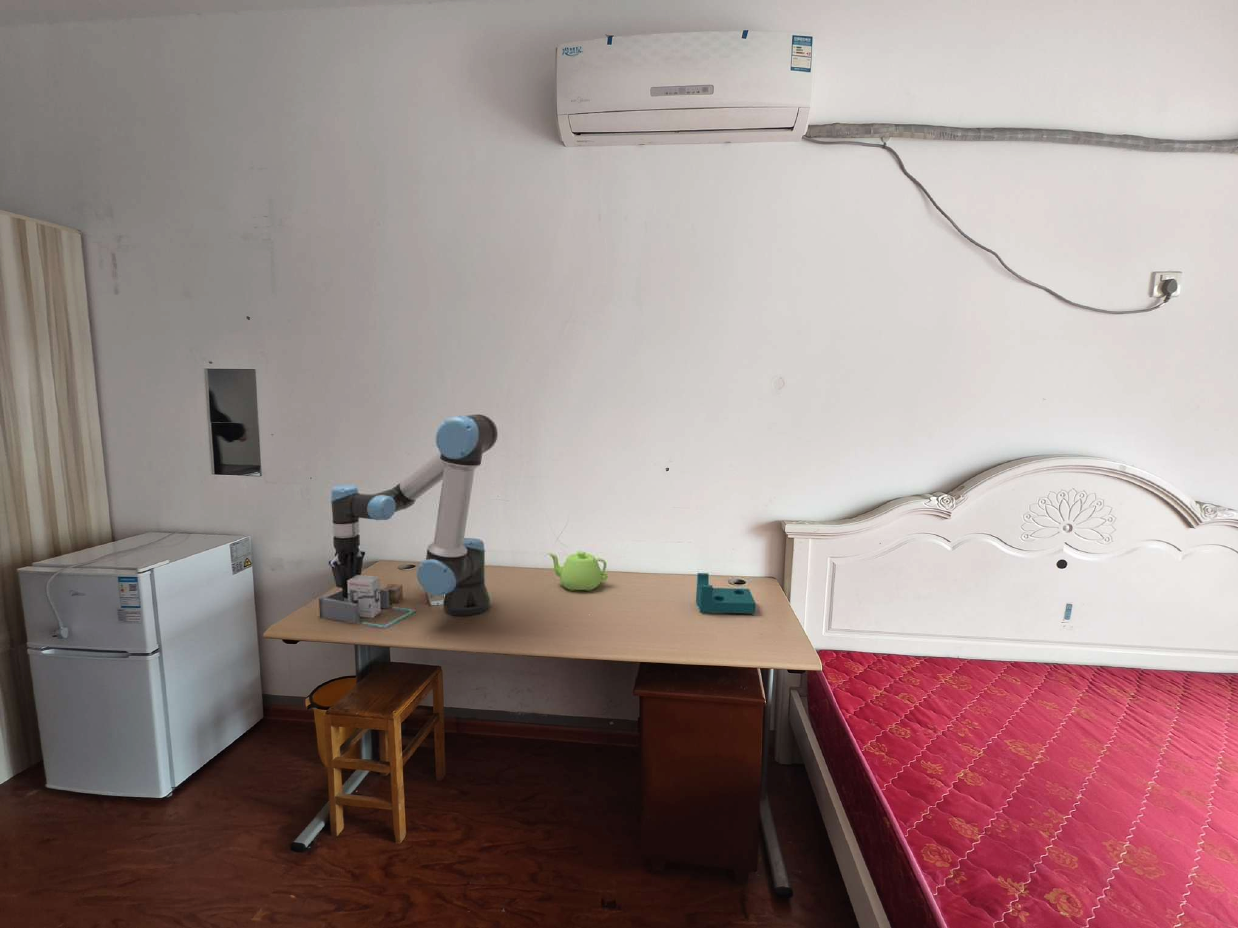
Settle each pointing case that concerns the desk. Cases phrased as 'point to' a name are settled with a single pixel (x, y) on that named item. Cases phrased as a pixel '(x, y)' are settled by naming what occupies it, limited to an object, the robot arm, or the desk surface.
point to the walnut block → (394, 593)
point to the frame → (392, 621)
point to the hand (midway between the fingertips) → (349, 606)
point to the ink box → (365, 594)
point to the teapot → (580, 571)
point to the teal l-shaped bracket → (722, 598)
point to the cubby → (345, 606)
